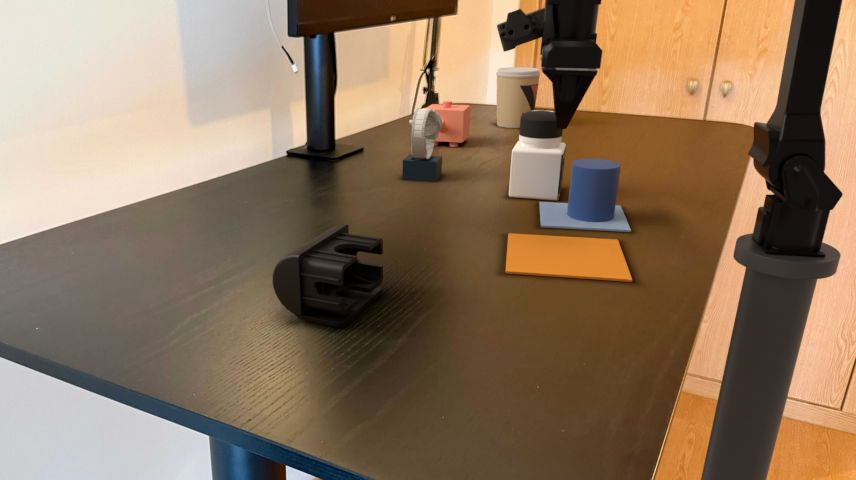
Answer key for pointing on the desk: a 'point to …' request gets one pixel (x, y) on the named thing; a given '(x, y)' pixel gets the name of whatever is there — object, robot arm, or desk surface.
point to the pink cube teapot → (452, 122)
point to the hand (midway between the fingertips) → (560, 122)
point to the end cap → (329, 278)
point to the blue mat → (558, 218)
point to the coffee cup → (515, 94)
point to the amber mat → (566, 257)
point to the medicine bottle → (537, 158)
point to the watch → (423, 147)
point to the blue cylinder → (593, 190)
